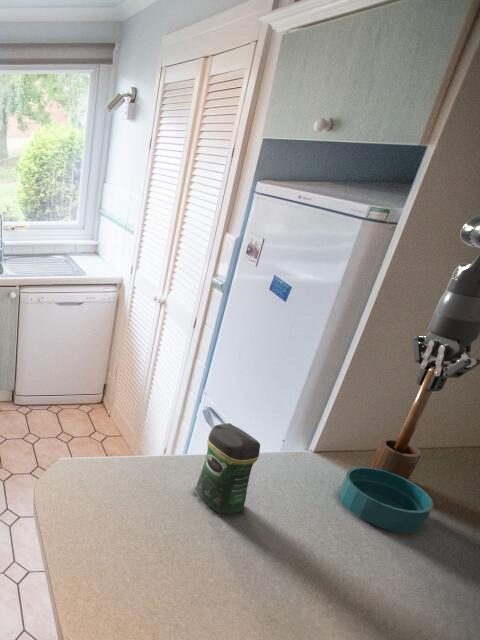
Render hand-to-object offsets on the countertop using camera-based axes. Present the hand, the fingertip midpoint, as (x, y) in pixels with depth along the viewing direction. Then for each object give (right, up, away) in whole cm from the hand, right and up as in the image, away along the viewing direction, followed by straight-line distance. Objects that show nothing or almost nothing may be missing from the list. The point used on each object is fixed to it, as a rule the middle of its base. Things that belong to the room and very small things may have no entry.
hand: (427, 387), depth 100 cm
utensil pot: (0, -23, +10) cm, 25 cm away
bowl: (-11, -27, +1) cm, 29 cm away
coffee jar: (-44, -26, +4) cm, 52 cm away
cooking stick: (0, -17, +8) cm, 19 cm away
